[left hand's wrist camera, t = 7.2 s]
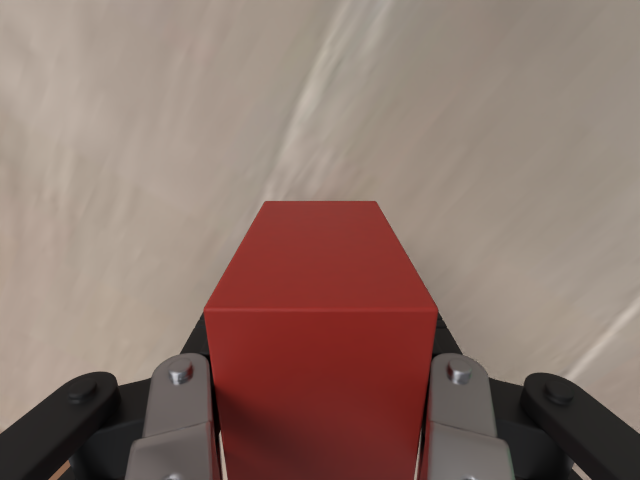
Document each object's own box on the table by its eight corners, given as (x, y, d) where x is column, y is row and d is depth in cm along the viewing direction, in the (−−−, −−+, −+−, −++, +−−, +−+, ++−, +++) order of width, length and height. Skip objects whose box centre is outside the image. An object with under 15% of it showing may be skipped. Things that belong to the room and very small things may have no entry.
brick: (376, 200, 14) (440, 308, 7) (369, 325, 16) (410, 512, 9) (264, 200, 14) (201, 309, 7) (271, 325, 16) (231, 511, 9)
